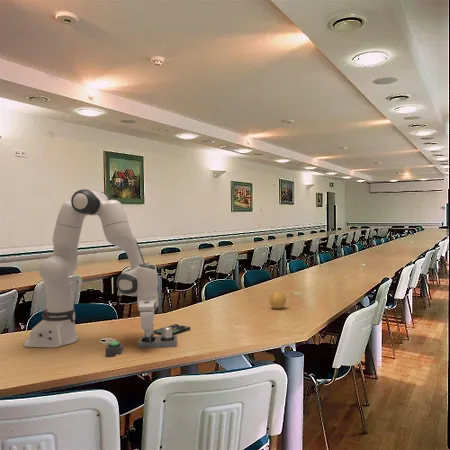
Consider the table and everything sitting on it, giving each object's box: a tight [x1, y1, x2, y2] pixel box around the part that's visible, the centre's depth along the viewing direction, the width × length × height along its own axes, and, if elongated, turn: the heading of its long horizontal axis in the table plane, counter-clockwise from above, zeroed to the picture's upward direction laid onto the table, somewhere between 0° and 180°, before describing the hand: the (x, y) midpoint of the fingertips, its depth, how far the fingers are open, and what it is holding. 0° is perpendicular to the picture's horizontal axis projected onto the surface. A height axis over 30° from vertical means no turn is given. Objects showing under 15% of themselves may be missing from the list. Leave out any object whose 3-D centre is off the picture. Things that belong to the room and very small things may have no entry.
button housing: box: [105, 342, 124, 358], centre depth 176 cm, size 6×6×4 cm
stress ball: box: [268, 291, 287, 310], centre depth 253 cm, size 10×10×10 cm
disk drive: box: [154, 323, 191, 336], centre depth 205 cm, size 10×3×15 cm
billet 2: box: [162, 325, 172, 341], centre depth 186 cm, size 4×4×7 cm
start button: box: [109, 340, 120, 347], centre depth 176 cm, size 4×4×1 cm
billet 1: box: [143, 322, 155, 342], centre depth 185 cm, size 4×4×7 cm
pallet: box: [137, 334, 178, 349], centre depth 186 cm, size 16×9×3 cm, turn 95°
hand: (148, 334), depth 185 cm, fingers closed on billet 1, 4 cm apart
